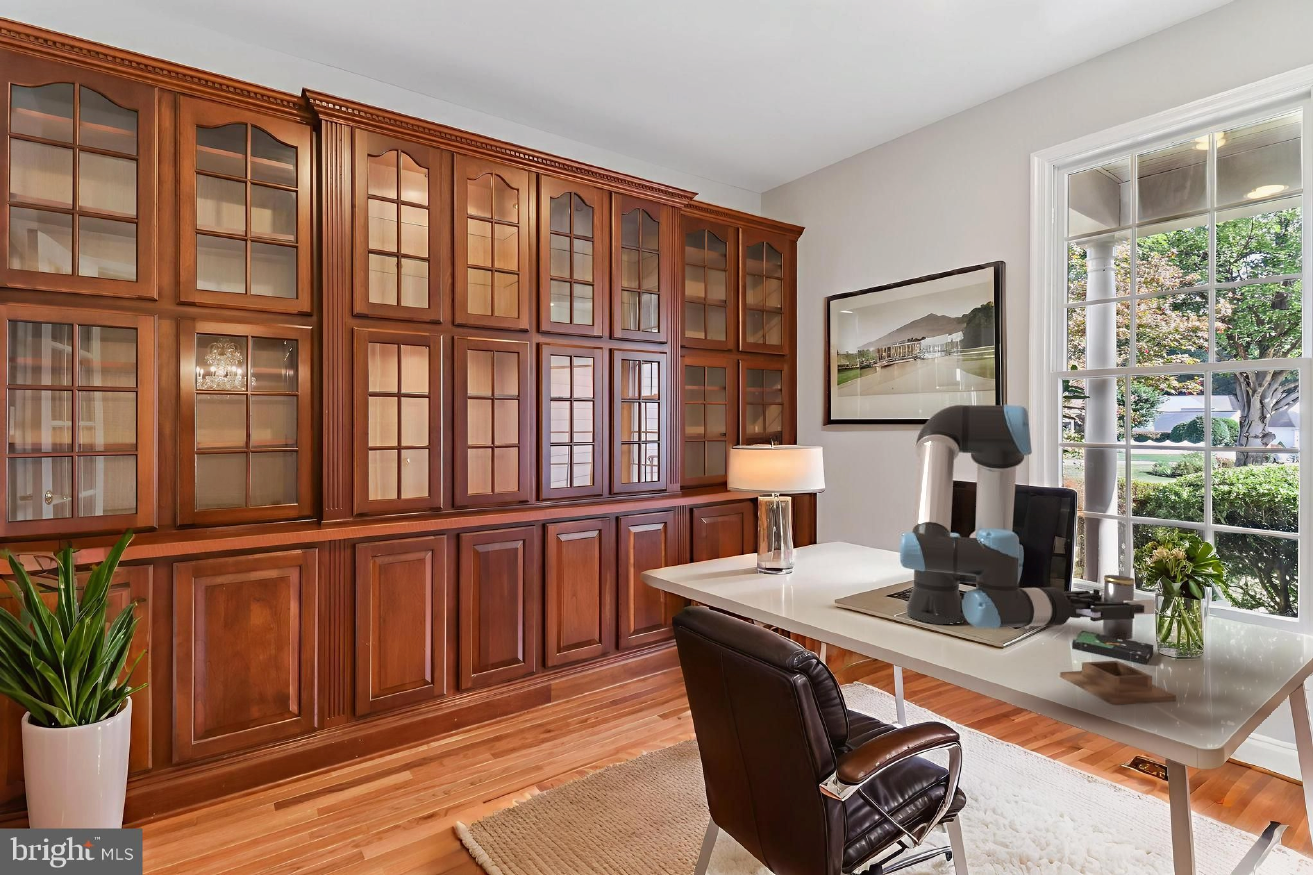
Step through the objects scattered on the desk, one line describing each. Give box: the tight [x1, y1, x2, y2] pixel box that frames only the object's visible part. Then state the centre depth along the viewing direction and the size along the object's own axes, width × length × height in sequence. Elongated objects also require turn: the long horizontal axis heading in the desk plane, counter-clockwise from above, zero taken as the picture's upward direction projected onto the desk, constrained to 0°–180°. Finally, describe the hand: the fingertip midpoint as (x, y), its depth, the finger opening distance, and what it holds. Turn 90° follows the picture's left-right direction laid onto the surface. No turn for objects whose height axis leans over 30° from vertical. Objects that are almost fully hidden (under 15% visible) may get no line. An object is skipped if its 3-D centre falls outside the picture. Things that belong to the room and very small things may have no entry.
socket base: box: [1059, 660, 1177, 706], centre depth 139 cm, size 14×14×4 cm
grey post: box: [1102, 574, 1136, 640], centre depth 138 cm, size 5×5×12 cm
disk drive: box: [1071, 630, 1155, 666], centre depth 160 cm, size 10×3×15 cm
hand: (1140, 602), depth 139 cm, fingers closed on grey post, 5 cm apart
